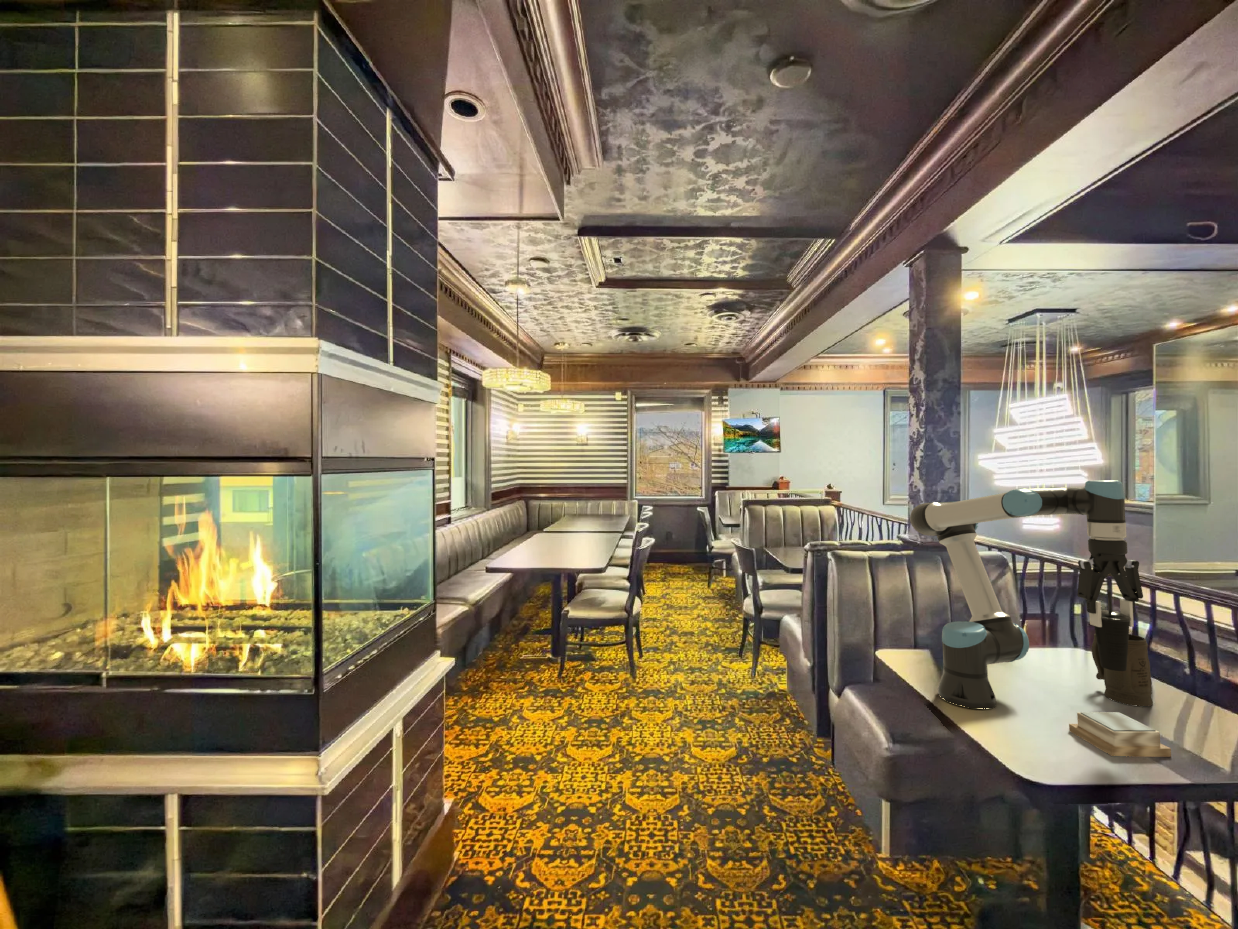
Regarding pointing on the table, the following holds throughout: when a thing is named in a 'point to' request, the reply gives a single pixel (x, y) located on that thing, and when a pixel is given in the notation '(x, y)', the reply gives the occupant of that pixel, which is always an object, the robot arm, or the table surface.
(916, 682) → the table surface
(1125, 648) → the drinking cup
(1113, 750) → the plinth
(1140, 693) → the beer stein
